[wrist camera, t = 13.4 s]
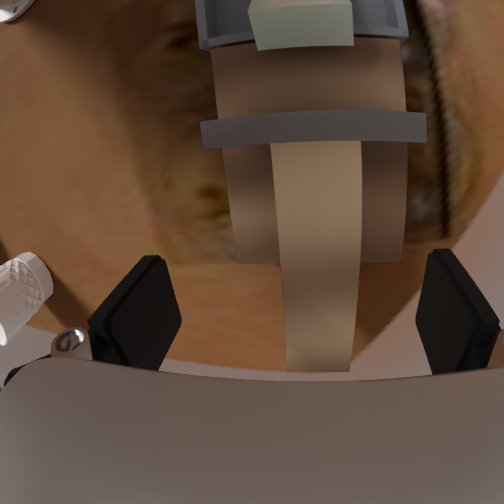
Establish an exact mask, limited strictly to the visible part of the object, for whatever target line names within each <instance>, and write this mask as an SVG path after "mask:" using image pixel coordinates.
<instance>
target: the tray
mask: <svg viewBox="0 0 504 504" xmlns="http://www.w3.org/2000/svg"><path fill="white" fill-rule="evenodd" d="M349 1H350V2H351V4H352V15H353V35H354V37H359V38H381V39H394V40H399V42H400V44H401V43H402V42H404V41H405V40H406V39H408V38H409V33H408V27H407V21H406V16H405V11H404V6H403V1H402V0H349ZM250 3H251V0H195V8H196V18H197V28H198V38H199V47H200V49H201V50H204V51H206V52H208V53H210V54H211V52H210V50H213V49H218V48H224V47H230V46H236V45H243V44H250V43H256V41H255V37H254V33H253V29H252V26H251V22H250V18H249V14H248V8H249V6H250Z"/></svg>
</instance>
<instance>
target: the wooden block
mask: <svg viewBox="0 0 504 504" xmlns="http://www.w3.org/2000/svg"><path fill="white" fill-rule="evenodd" d="M210 52H211V61H212V70H213V78H214V87H215V96H216V104H217V112H218V119H223V118H230V117H239V116H248V115H258V114H269V113H282V112H298V111H321V110H379V111H402V112H406V98H405V85H404V75H403V66H402V57H401V50H400V42H399V40H394V39H381V38H359V37H354V46H306V47H290V48H278V49H268V50H260V51H258V49H257V45H256V43H250V44H243V45H236V46H230V47H224V48H218V49H213V50H210ZM222 153H223V161H224V169H225V176H226V184H227V192H228V199H229V207H230V214H231V222H232V229H233V237H234V244H235V251H236V258H237V264H280V250H279V237H278V225H277V212H276V201H275V189H274V178H273V167H272V156H271V146H270V144H259V145H247V146H236V147H226V148H222ZM361 158H362V231H361V256H360V263H401V260H402V251H403V241H404V230H405V217H406V199H407V165H408V148H407V142H397V141H361Z"/></svg>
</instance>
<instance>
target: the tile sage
mask: <svg viewBox="0 0 504 504" xmlns="http://www.w3.org/2000/svg"><path fill="white" fill-rule="evenodd" d="M248 14H249V18H250V22H251V26H252V29H253V33H254V37H255V41H256V45H257V49H258V51H260V50H268V49H278V48H290V47H306V46H354V35H353V15H352V4H351V2H350V1H349V0H251V3H250V6H249V8H248Z"/></svg>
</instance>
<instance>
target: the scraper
mask: <svg viewBox="0 0 504 504" xmlns="http://www.w3.org/2000/svg"><path fill="white" fill-rule="evenodd" d="M200 129H201V136H202V144H203V150H208V149H217V148H226V147H236V146H247V145H259V144H270V146H271V156H272V167H273V178H274V189H275V201H276V212H277V225H278V237H279V250H280V264H281V278H282V293H283V308H284V324H285V342H286V360H287V371H307V372H349V369H350V362H351V355H352V347H353V339H354V330H355V321H356V311H357V300H358V288H359V273H360V256H361V231H362V158H361V141H397V142H418V143H427V122H426V113H417V112H402V111H379V110H321V111H298V112H282V113H269V114H258V115H248V116H239V117H230V118H223V119H215V120H208V121H201V122H200Z"/></svg>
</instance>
